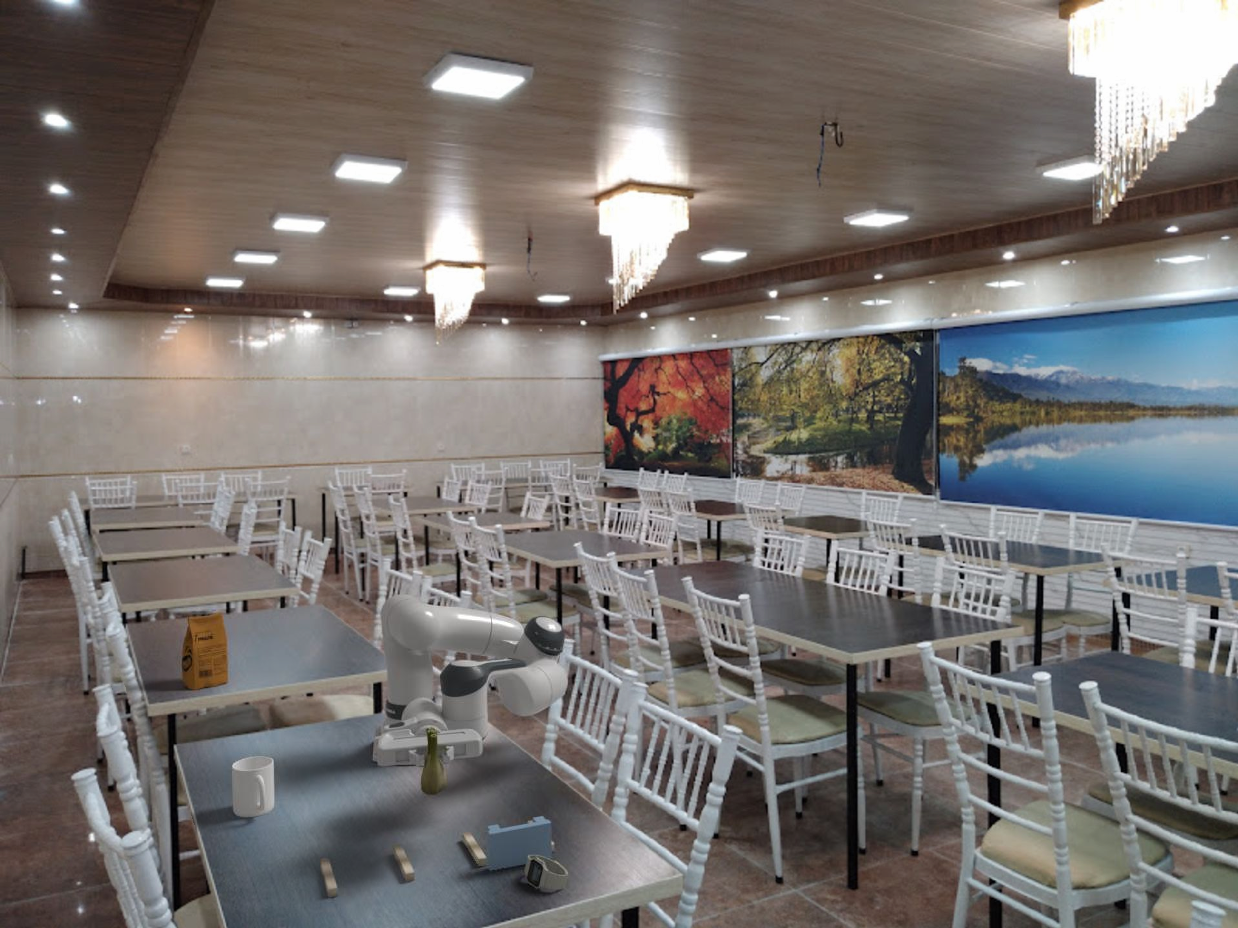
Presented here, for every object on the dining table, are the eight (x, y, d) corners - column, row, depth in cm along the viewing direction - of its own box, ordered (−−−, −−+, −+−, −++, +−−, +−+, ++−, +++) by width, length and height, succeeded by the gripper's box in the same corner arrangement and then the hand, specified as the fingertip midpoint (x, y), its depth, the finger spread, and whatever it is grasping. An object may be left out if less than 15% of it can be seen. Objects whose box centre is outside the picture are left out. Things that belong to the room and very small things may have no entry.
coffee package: (178, 685, 296) (176, 615, 295) (219, 677, 305) (217, 609, 303) (190, 692, 289) (188, 620, 288) (231, 683, 298) (229, 614, 296)
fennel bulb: (427, 784, 184) (426, 724, 183) (451, 786, 183) (451, 725, 183) (416, 797, 178) (415, 734, 178) (441, 798, 178) (440, 735, 177)
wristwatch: (516, 878, 173) (516, 852, 173) (543, 867, 178) (543, 840, 177) (549, 896, 167) (549, 869, 166) (576, 884, 171) (576, 857, 171)
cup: (268, 798, 209) (267, 753, 209) (284, 817, 199) (283, 770, 199) (228, 807, 204) (227, 761, 204) (243, 827, 195) (241, 779, 194)
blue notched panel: (485, 862, 179) (484, 826, 179) (545, 850, 184) (545, 815, 183) (490, 871, 176) (490, 834, 175) (551, 858, 181) (551, 822, 180)
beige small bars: (320, 867, 177) (320, 859, 177) (534, 826, 194) (534, 819, 194) (328, 897, 166) (328, 889, 166) (554, 851, 184) (554, 843, 183)
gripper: (478, 747, 196) (488, 771, 183) (375, 757, 190) (378, 784, 177) (477, 717, 196) (488, 739, 182) (375, 726, 190) (378, 750, 177)
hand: (433, 761), depth 180 cm, fingers closed on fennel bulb, 3 cm apart
